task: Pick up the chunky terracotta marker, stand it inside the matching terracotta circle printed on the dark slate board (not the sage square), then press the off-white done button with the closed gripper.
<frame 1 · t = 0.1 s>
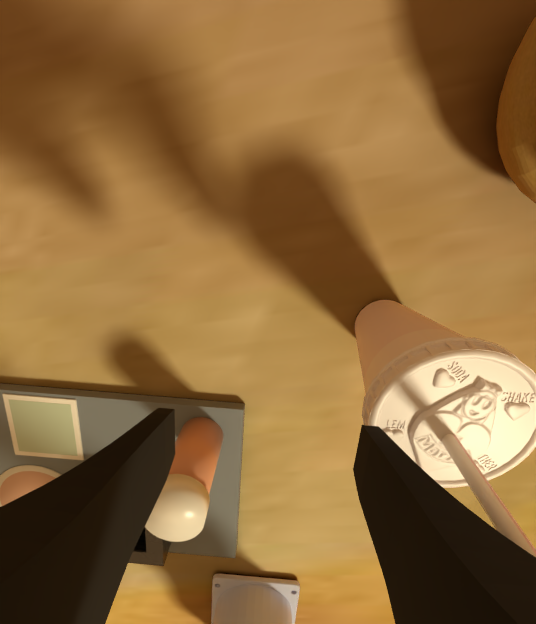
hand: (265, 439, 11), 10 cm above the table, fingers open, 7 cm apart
button collar: (133, 496, 25), resting on picture board
terracotta marker: (202, 435, 22), point 1 cm above the table, touching picture board
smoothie: (381, 324, 20), on the table, touching gripper
picture board: (117, 471, 24), on the table
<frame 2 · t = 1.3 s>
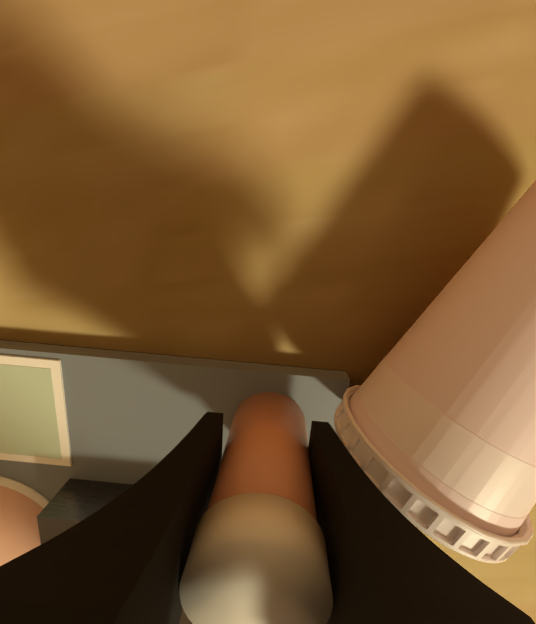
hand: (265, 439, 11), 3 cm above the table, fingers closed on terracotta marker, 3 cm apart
button collar: (150, 526, 16), resting on picture board
terracotta marker: (269, 424, 13), point 1 cm above the table, touching gripper, picture board
picture board: (125, 486, 15), on the table
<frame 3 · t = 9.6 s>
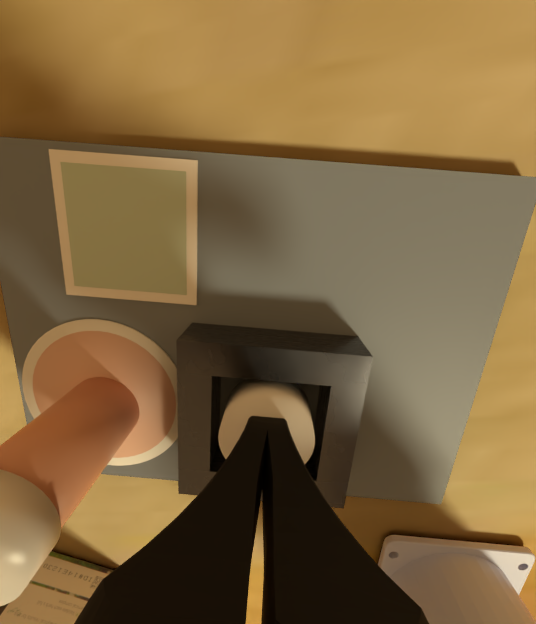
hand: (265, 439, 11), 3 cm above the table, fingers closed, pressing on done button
button collar: (269, 392, 14), resting on picture board
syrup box: (79, 582, 19), on the table
done button: (267, 424, 12), point 2 cm above the table, slide at 0.5 cm, touching gripper
terracotta marker: (105, 407, 14), point 1 cm above the table, touching picture board
picture board: (246, 341, 13), on the table
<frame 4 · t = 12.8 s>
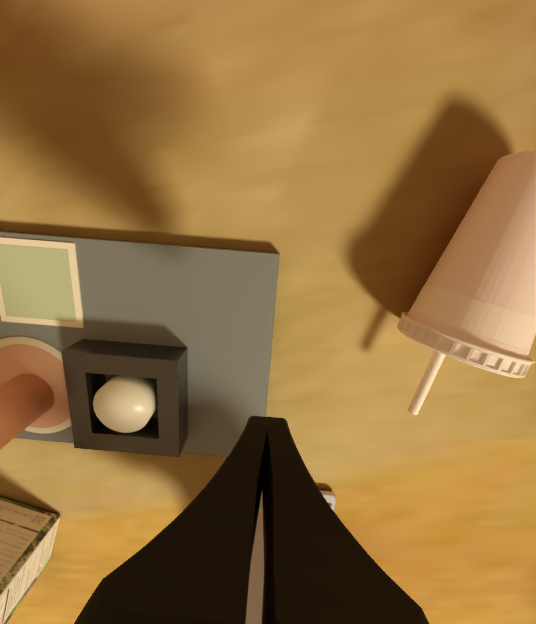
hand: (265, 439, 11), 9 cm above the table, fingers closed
button collar: (142, 383, 21), resting on picture board
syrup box: (27, 523, 26), on the table
done button: (128, 400, 19), point 2 cm above the table, slide at 0.8 cm
terracotta marker: (31, 394, 21), point 1 cm above the table, touching picture board
picture board: (123, 350, 21), on the table
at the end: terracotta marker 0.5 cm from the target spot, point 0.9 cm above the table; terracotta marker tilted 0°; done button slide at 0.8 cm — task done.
